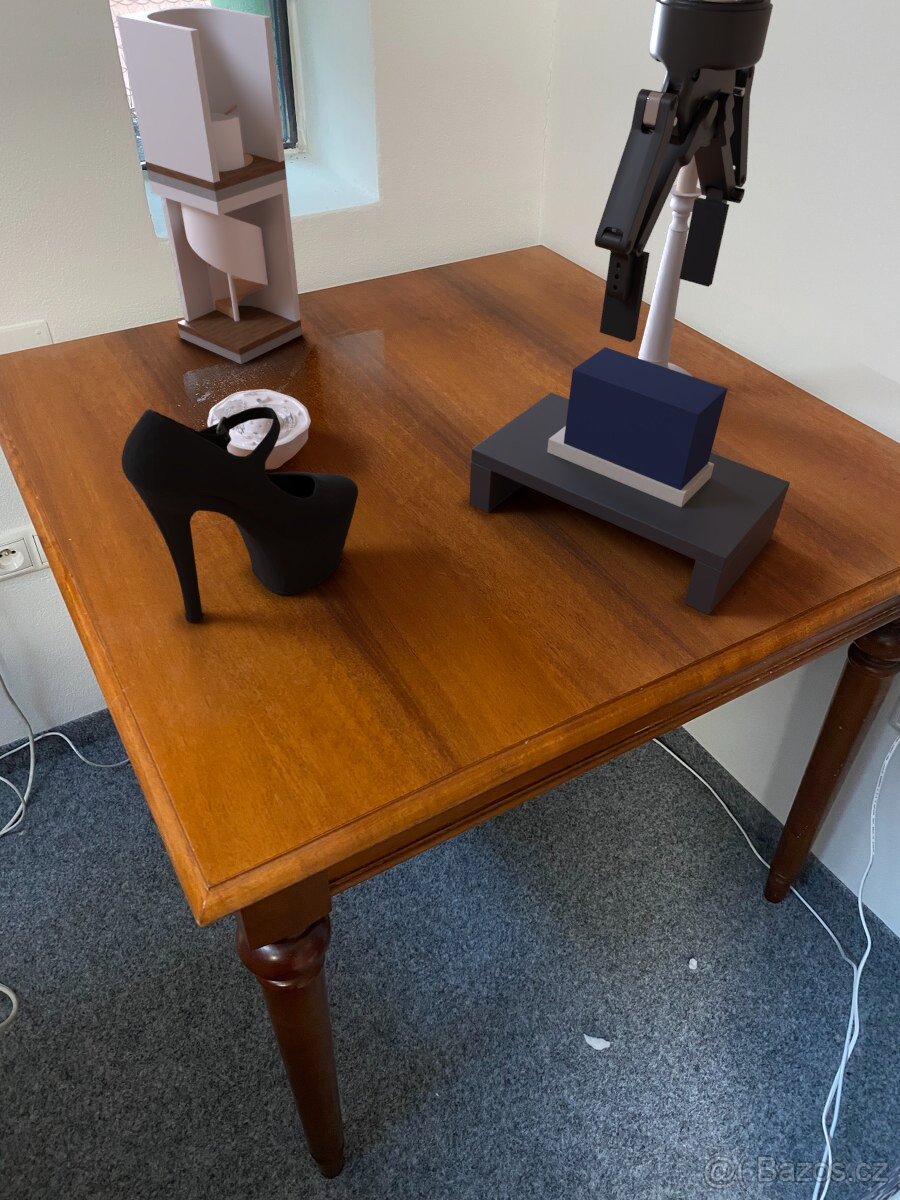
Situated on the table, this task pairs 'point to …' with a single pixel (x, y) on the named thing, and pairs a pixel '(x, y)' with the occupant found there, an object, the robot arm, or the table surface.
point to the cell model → (264, 424)
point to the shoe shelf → (637, 499)
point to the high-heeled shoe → (238, 501)
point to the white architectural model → (217, 171)
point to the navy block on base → (641, 425)
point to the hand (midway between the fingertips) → (658, 307)
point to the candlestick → (670, 273)
